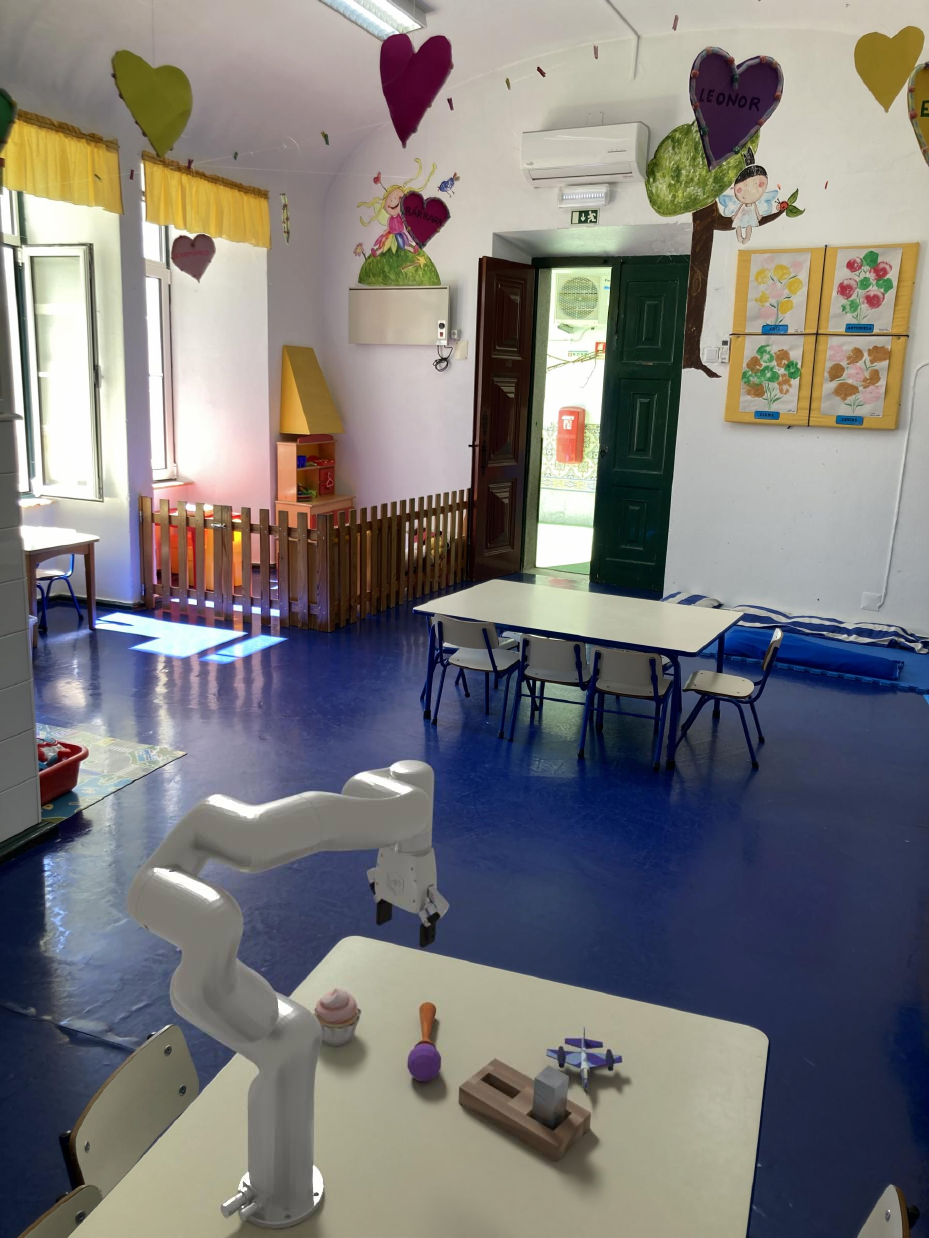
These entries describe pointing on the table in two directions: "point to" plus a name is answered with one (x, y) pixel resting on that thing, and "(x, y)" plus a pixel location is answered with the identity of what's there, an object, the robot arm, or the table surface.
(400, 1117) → the table surface
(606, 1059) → the toy airplane
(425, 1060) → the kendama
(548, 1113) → the square peg
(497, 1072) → the socket block
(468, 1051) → the table surface
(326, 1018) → the cupcake
